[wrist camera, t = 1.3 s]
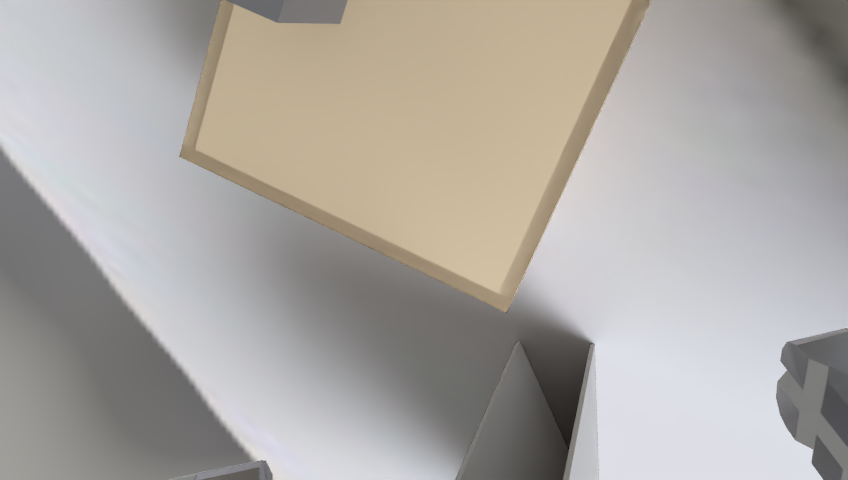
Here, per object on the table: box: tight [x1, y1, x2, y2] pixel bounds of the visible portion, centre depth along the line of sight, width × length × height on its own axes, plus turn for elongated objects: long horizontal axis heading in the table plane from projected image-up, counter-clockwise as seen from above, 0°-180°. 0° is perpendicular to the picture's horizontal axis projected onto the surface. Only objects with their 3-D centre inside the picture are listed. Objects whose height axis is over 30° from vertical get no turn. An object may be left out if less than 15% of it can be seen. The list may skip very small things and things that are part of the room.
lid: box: [179, 0, 652, 313], centre depth 36 cm, size 20×22×9 cm
